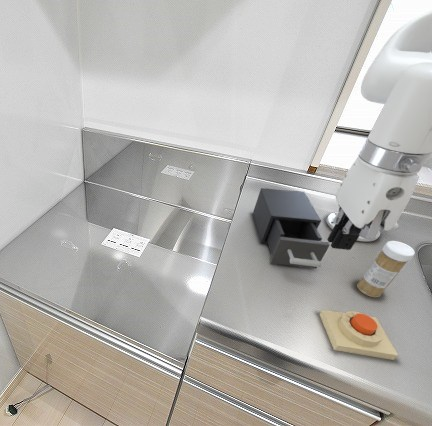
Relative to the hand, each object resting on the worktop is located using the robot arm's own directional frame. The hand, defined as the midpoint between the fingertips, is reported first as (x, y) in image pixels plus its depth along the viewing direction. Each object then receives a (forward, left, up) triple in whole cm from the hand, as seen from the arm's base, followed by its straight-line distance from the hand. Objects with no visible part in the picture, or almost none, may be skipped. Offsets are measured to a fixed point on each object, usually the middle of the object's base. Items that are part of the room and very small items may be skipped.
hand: (338, 244), depth 55 cm
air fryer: (0, -25, -17) cm, 30 cm away
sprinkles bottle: (-15, -6, -17) cm, 24 cm away
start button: (-7, +7, -14) cm, 17 cm away
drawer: (0, -14, -16) cm, 22 cm away
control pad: (-7, +7, -17) cm, 20 cm away
